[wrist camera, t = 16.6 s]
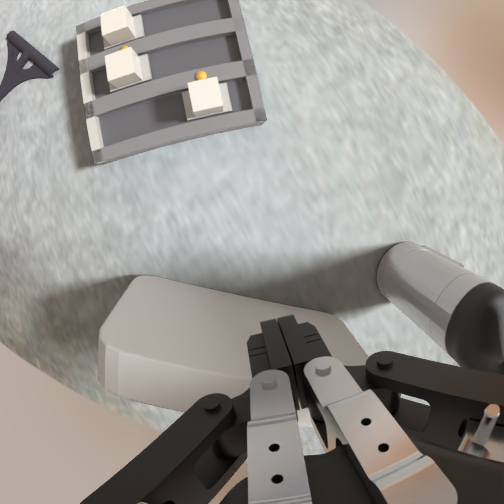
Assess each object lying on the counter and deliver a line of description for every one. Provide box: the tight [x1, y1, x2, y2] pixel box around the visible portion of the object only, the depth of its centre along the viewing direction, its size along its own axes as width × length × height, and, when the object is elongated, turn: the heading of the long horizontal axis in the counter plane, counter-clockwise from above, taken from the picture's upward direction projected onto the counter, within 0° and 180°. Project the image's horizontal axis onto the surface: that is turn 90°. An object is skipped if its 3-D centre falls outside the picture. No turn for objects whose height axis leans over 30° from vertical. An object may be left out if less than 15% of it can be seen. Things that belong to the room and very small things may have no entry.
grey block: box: [98, 275, 369, 427], centre depth 34 cm, size 29×8×18 cm, turn 75°
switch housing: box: [76, 0, 267, 164], centre depth 31 cm, size 20×19×4 cm
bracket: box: [0, 31, 59, 102], centre depth 30 cm, size 14×15×3 cm
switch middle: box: [105, 47, 152, 93], centre depth 28 cm, size 5×3×4 cm
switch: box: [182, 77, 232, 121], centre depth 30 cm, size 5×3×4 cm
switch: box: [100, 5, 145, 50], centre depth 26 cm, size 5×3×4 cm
